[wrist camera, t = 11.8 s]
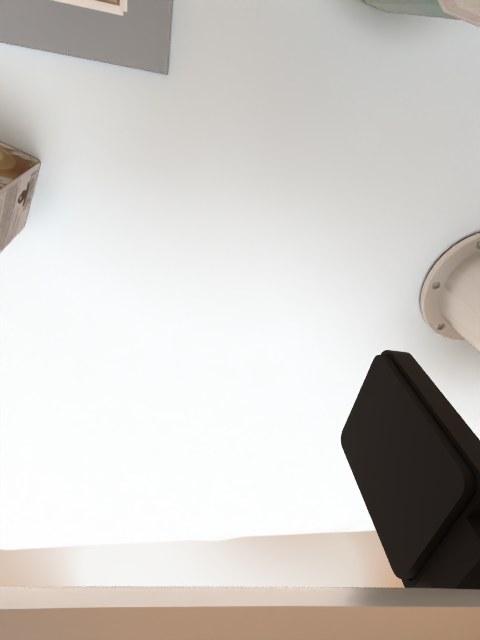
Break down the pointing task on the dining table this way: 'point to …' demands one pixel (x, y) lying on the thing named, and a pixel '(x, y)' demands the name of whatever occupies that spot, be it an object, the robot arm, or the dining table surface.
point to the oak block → (111, 1)
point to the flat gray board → (92, 30)
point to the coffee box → (15, 191)
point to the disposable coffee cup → (433, 8)
